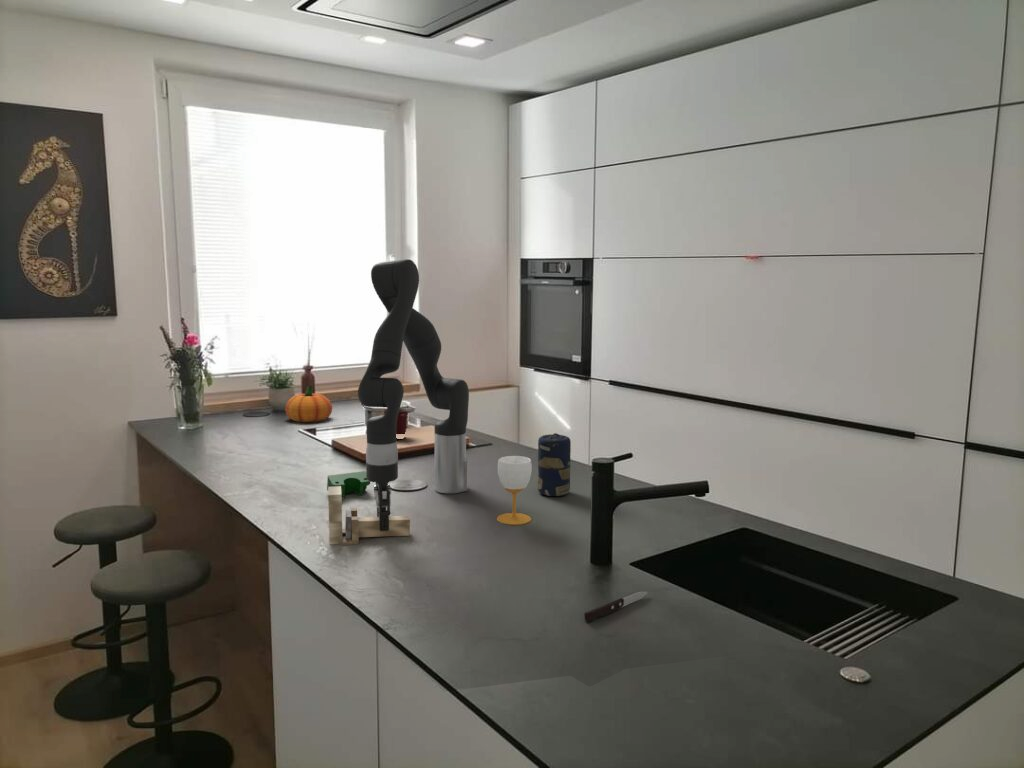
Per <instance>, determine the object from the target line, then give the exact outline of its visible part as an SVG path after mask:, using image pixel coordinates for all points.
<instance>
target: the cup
mask: <svg viewBox="0 0 1024 768" xmlns="http://www.w3.org/2000/svg"><path fill="white" fill-rule="evenodd" d="M532 470H533V465H532V460H531V458H529V457H527V456H522V455H521V456H520V455H508V456H507V455H506V456H502V457H500V458H498V461H497V475H498V478H499V481H500V484H501V486H502V488H504V489H505V490H506V491H507V492H509V493H511V494H512V512H506V513H502V514H499V515H498V516H497V517H496V521H497V522H499V523H501V524H503V525H507V526H508V525H509V526H510V525H511V526H521V525H526V524H529V523H531V521H532V518H531V516H530V515H527V514H524V513H521V512H517V507H516V506H517V494H518V493H520V492H522V491H523V490H525V489H526V488H527V486H528V485H529V483H530V481H531V480H530V479H531V476H532Z"/></svg>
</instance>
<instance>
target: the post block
mask: <svg viewBox="0 0 1024 768" xmlns="http://www.w3.org/2000/svg"><path fill="white" fill-rule="evenodd" d="M327 492H328V493H327V494H328V495H327V496H328V497H327V498H328V500H327V501H328V531H329V532H328V533H329V535H328V536H329V545H339V544H340V546H348V545H349V546H350V545H359V544H360V542H359V541H360V537H359V528H358V517H359V516H358V507H350V510H351V517H352V538H351V539H346V538H343V536H346V533H345V528H344V529H343V509H342V508H343V506H342V505H343V503H342V501H343V500H342V499H343V498H342V494H341V486H334V487H328V490H327Z"/></svg>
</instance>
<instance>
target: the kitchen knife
mask: <svg viewBox="0 0 1024 768" xmlns="http://www.w3.org/2000/svg"><path fill="white" fill-rule="evenodd" d="M648 593H649V592H648V591H639V592H635V593H633V594H630V595H628V596H625V597H623V598H621V597H620V598H618V599H616V600H613V601H610V602H608V603H606V604H603V605H601V606H598V607H595V608H594V609H591V610H588V611H586V612H584V620H585V622H586V623H591V622H592V621H594V620H595V619H598V618H602V617H606V616H608V615H610V614H613V613H614V612H615V611H617V610H619V609H621V608H624V607H626V606H628V605H630V604H632V603H635V602H637V601H639V600H641V599H642V598H644V597H645V596H646V595H647V594H648Z"/></svg>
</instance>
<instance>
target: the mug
mask: <svg viewBox="0 0 1024 768" xmlns="http://www.w3.org/2000/svg"><path fill="white" fill-rule="evenodd" d="M386 412H387V408H386V409H384V410H383V415H385V414H386ZM407 421H408V410H407V409H406V408H401V407H400V409H399V413H398V418H397V425H396V434H405V432H406V433H407V423H408V422H407Z"/></svg>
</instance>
